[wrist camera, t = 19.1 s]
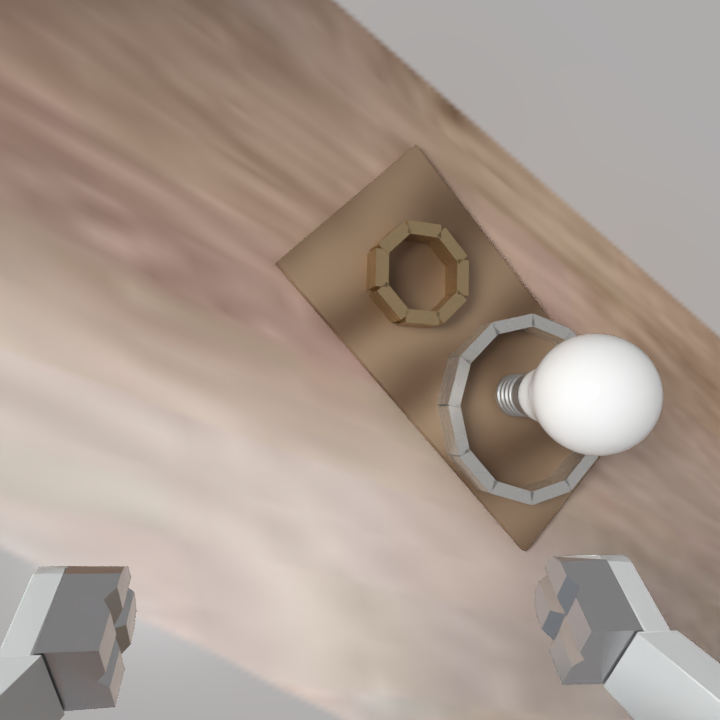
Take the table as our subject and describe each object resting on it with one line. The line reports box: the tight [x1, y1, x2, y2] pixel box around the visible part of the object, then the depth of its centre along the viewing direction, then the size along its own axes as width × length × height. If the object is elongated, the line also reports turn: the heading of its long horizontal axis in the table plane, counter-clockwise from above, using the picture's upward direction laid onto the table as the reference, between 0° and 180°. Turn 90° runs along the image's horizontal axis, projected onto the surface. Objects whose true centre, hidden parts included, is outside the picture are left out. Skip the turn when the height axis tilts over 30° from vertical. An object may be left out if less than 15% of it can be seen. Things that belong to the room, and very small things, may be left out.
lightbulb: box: [495, 333, 664, 456], centre depth 32 cm, size 6×6×11 cm
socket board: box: [276, 145, 601, 551], centre depth 36 cm, size 24×12×2 cm, turn 43°
